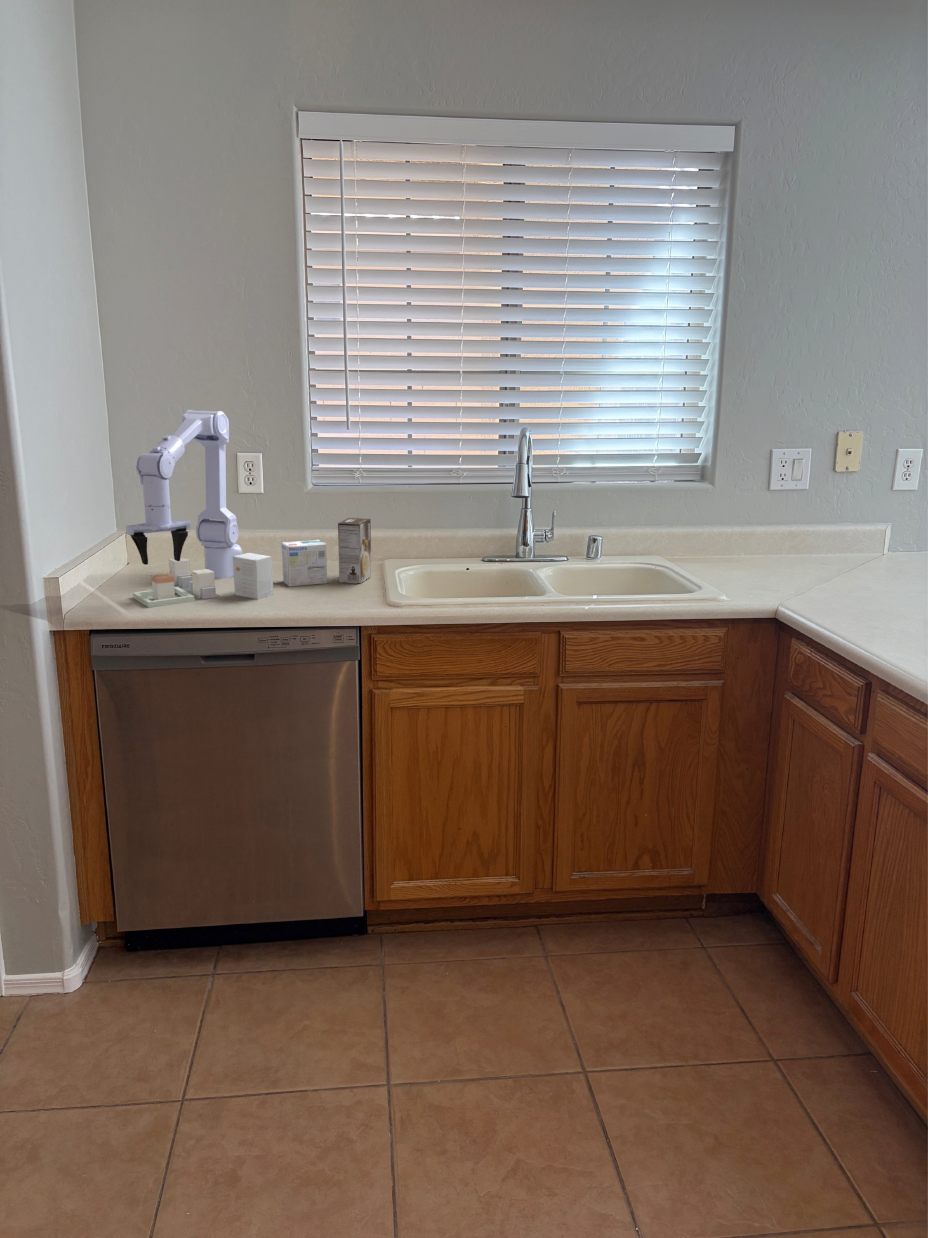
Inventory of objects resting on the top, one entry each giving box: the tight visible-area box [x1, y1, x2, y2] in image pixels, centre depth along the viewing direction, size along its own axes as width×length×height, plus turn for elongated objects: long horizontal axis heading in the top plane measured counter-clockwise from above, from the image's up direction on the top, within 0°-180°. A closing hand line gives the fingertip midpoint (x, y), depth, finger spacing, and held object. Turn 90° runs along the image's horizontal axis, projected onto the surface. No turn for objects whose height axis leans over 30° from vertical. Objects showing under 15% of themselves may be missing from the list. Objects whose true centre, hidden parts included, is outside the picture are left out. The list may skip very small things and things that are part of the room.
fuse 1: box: [168, 556, 192, 585], centre depth 237 cm, size 4×4×6 cm
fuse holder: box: [174, 573, 221, 601], centre depth 231 cm, size 6×23×3 cm, turn 37°
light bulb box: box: [281, 539, 328, 587], centre depth 242 cm, size 11×7×11 cm, turn 116°
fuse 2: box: [191, 568, 216, 598], centre depth 224 cm, size 4×4×6 cm
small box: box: [233, 552, 274, 600], centre depth 226 cm, size 8×6×10 cm
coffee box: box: [337, 517, 372, 584], centre depth 246 cm, size 9×6×16 cm
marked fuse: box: [150, 572, 176, 601], centre depth 220 cm, size 4×4×6 cm
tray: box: [132, 587, 196, 608], centre depth 221 cm, size 11×11×2 cm
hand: (161, 562), depth 218 cm, fingers open, 7 cm apart
